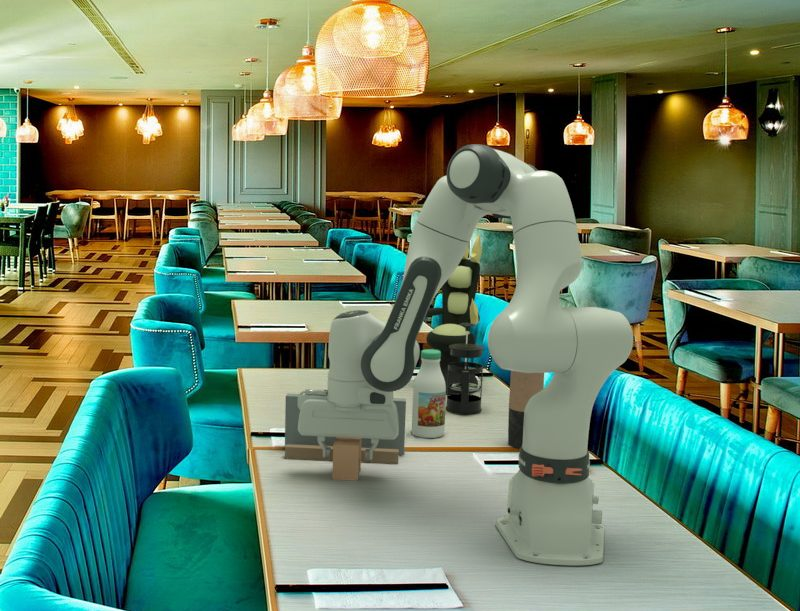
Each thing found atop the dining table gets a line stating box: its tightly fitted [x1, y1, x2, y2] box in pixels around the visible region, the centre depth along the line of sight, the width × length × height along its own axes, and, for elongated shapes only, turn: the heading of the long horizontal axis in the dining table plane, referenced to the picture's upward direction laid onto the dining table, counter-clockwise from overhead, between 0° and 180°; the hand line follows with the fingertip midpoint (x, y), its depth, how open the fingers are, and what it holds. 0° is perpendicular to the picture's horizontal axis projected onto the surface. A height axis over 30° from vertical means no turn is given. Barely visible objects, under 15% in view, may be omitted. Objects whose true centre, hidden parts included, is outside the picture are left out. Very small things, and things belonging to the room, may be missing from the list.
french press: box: [445, 323, 485, 416], centre depth 235 cm, size 12×9×23 cm
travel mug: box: [507, 370, 545, 449], centre depth 207 cm, size 8×8×20 cm
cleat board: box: [284, 393, 407, 464], centre depth 195 cm, size 8×26×12 cm, turn 88°
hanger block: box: [332, 437, 362, 481], centre depth 183 cm, size 7×5×7 cm
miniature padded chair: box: [425, 232, 483, 395], centre depth 259 cm, size 19×22×45 cm
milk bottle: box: [411, 348, 447, 439], centre depth 212 cm, size 8×8×20 cm
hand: (347, 457), depth 184 cm, fingers open, 7 cm apart
